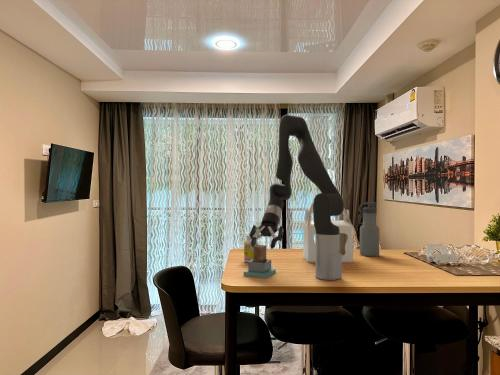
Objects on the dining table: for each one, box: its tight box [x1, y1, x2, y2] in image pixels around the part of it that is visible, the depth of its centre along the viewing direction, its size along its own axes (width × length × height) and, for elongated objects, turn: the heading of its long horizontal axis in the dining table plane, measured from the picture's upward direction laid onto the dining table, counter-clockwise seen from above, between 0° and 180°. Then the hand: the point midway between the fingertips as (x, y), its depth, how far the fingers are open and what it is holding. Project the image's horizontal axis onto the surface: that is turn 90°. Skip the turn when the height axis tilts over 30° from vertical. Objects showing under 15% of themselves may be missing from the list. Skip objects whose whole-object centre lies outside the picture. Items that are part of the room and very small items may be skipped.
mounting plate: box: [243, 268, 276, 279], centre depth 137 cm, size 10×10×2 cm
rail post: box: [254, 244, 267, 263], centre depth 137 cm, size 4×4×10 cm
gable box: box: [302, 202, 354, 263], centre depth 166 cm, size 22×13×28 cm, turn 91°
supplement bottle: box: [243, 233, 259, 263], centre depth 161 cm, size 7×7×13 cm
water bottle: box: [357, 201, 380, 257], centre depth 178 cm, size 10×10×28 cm
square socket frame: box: [247, 258, 272, 273], centre depth 137 cm, size 7×7×4 cm
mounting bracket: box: [425, 244, 461, 263], centre depth 157 cm, size 12×6×11 cm, turn 81°
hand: (262, 246), depth 139 cm, fingers open, 8 cm apart
